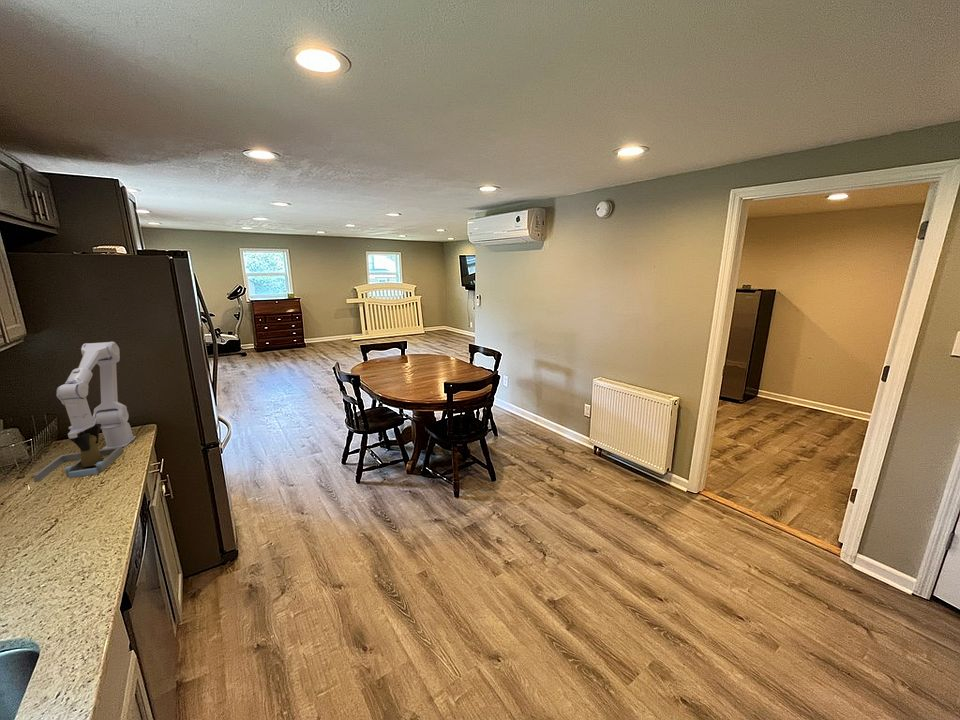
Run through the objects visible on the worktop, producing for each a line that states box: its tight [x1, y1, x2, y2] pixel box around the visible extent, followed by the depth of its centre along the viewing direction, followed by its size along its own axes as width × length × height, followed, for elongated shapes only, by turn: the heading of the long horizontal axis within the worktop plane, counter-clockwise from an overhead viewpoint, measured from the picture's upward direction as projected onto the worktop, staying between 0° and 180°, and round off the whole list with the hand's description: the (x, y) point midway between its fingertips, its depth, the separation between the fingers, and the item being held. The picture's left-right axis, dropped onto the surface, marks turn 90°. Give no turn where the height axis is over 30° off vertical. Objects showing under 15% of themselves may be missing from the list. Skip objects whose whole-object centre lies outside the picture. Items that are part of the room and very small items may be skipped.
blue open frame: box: [32, 447, 124, 483], centre depth 145 cm, size 16×19×3 cm
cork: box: [79, 435, 104, 468], centre depth 144 cm, size 6×6×11 cm
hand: (90, 447), depth 144 cm, fingers closed on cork, 5 cm apart
